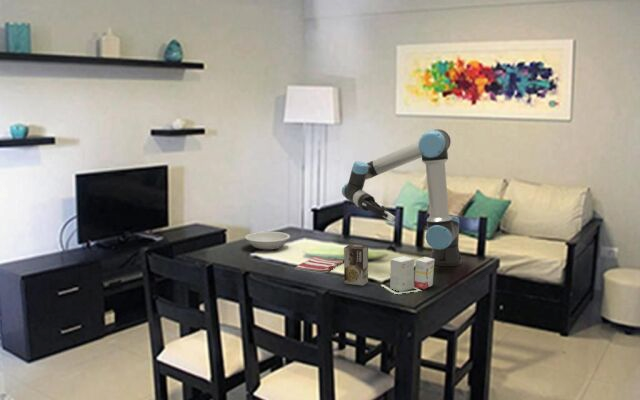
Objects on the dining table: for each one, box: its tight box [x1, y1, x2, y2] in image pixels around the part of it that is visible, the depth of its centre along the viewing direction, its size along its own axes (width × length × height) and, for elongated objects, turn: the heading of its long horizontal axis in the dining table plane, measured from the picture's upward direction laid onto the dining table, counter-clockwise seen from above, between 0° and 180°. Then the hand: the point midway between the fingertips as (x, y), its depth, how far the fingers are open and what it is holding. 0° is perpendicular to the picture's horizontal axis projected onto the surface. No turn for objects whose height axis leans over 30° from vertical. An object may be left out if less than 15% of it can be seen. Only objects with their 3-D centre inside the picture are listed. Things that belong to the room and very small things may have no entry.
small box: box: [389, 255, 415, 292], centre depth 258 cm, size 8×6×13 cm
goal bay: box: [380, 284, 423, 295], centre depth 259 cm, size 12×13×1 cm
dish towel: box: [294, 255, 344, 274], centre depth 295 cm, size 17×23×3 cm
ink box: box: [414, 256, 435, 290], centre depth 260 cm, size 9×5×12 cm, turn 144°
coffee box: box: [343, 243, 369, 286], centre depth 266 cm, size 9×6×16 cm
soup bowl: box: [244, 231, 291, 250], centre depth 329 cm, size 24×24×7 cm
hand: (393, 219), depth 272 cm, fingers closed
